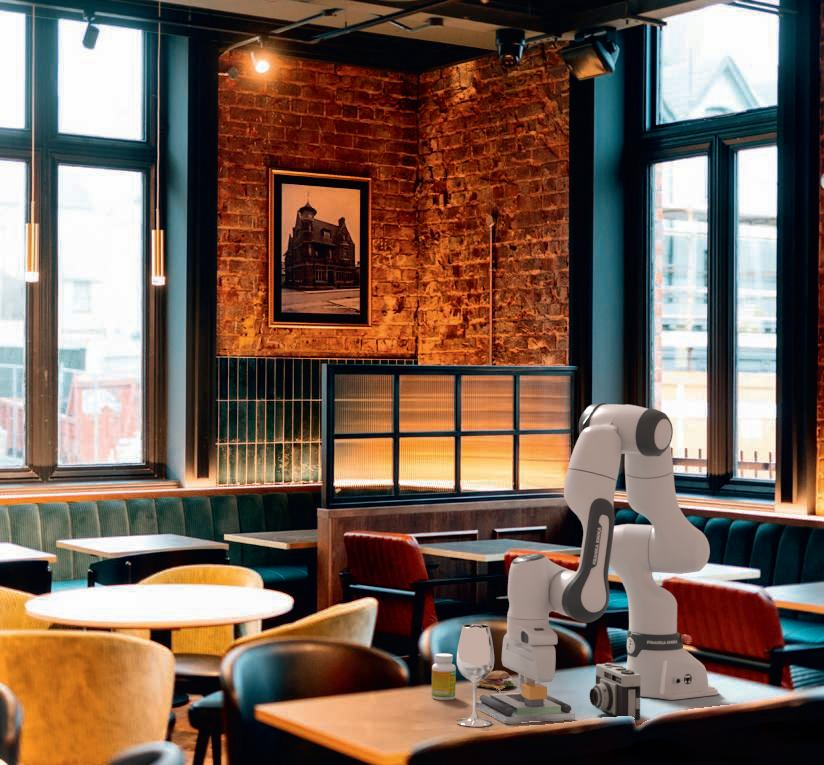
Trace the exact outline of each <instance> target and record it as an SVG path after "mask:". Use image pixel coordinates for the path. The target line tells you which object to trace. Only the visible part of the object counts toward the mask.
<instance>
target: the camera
mask: <svg viewBox="0 0 824 765" xmlns="http://www.w3.org/2000/svg"><path fill="white" fill-rule="evenodd" d="M640 687H641V675H640V674H637V673H635V672H633V671H631V670H626V667H624V666H622V665H619V664H614V663H611V662H605V663H597V664H596V665H595V685H594V686H593V687H592V688H591V689H590V691H589V700H590V704H591V705H592V706H593V707H595V709H597V710H599V711H602V712H604V713H606V714H608V715H609V716H613V717H614V716H632V717H634V718H635V719H636V720H635V721H639V720H640V719H641V696H640Z"/></svg>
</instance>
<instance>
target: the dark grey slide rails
mask: <svg viewBox="0 0 824 765" xmlns="http://www.w3.org/2000/svg"><path fill="white" fill-rule="evenodd" d="M547 700H549V701H552V702H554V703H556V704H558V705H560V706H561V710H563V711H565V712H570V711H572V706H571V705H570V704H568V703H566V702H563V701H561V700H560V699H557V698H555V697H554V696H550V695H549V694H547ZM479 701H481V702H483V703H485V704H487V705H489V706H491V707H493V708H495V709H496V710H498V711H500V712H502V713H504V714H506V715H508V716H511V715H512V714H513V710H512V709H511V708H509V707H507V706H505V705H503V704H502V703H500V702H498V701H496V700H494V699H492V698H490V696H488V695H486V694H481V695H480V696H479Z"/></svg>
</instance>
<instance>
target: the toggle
mask: <svg viewBox="0 0 824 765" xmlns="http://www.w3.org/2000/svg"><path fill="white" fill-rule="evenodd" d="M547 695H548V686H546V685H544V684H542V683H541V682H538V683H537V682H535V683H534V684H522V696H523V697H525V705H526V706H528V707H530V706H544V699H547Z"/></svg>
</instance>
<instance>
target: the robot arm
mask: <svg viewBox="0 0 824 765" xmlns="http://www.w3.org/2000/svg"><path fill="white" fill-rule="evenodd" d="M673 431H674V428H673V424H672V422H671V420H670V417H669V416H668V415H667V413H665V412H663V411H661V410H659V409H656V408H646V407H643V406H638V405H635V404H634V405H633V404H615V403H614V404H613V403H612V404H610V403H609V404H608V403H605V402H600V403H594V404H593V403H592V404H590V405H589V406H587V407H586V409H585V410H584V411H583V412H582V414H581V416H580V418H579V422H578V433H579V437H578V439H577V440H576V442H575V445H574V448H573V450H572V453H571V455H570V459H569V462H568V467H567V470H566V474H565V478H564V485H563V498H564V500H565V502H566V504H567V506H568V508H570V510H571V511H572V512H573V513H574V514H575V515H576V516H577V518H578V520H579V521H580V522H581V525H582V530H583V536H582V543H581V550H580V555H579V556H580V557H579V565H578V567H577V570H576V571H575V570H571V569H568V568H566V567H563V566H561V565H559V564H557V563H555V562H553V561H552V560H550V559H549V558H548V557H547V556H546V555H544V554H542V553H529V554H523V555H520V556H517V557H516V558H515V559H513V560H512V562H511V563H510V568H509V571H508V580H507V582H508V583H507V598H508V602H509V605H508V606H509V607H508V611H507V615H506V616H507V617H506V618H507V619H506V622H507V624H506V633H505V634H504V636H503V639H502V649H501V663H502V666H503V667H505V668H507V669H509V670H511V671H513V672H516V673H517V674H518V676H517V678H518V683H519V685H520V691H521V694H522V684H534V683H537V682H538V683H550V682H551V683H552V681H553V680H554V679H555V673H556V663H557V661H556V648H555V646H554V645H557V644H558V634H557V633H556V632H555V630H553V628H552V627H551V624H550V623H549V620H550V619H549V617H550V616H549V614H550V613H551V612H554V613H558V614H559V615H562V616H566V617H570V618H572V619H573V620H576V621H577V622H579V623H585V624H588V623H592V622H595V621H596V620H599V619H600V618H601V617H602V616H603V615H604V614H605V613H606V611H607V609H608V607H609V605H610V604H609V603H610V596H611V594H610V593H611V592H610V584H609V568H610V569H611V570H612V571H613V572H614V573H615V574H616V575H617V576H618V578H619V579H620V581H621V583H622V585H623V587H624V591H625V592H626V596H627V601H628V602H627V604H628V630H627V631H626V653H627V658H626V659H627V660H626V667H625V668H626V670H631V671H633V672H635V673H637V674H640V675H641V687H640V697H643V698H655V699H662V700H668V701H671V700H682V699H684V700H685V699H689V698H690V699H692V698H693V699H694V698H699V697H709V696H717V695H719V694H718V693H719V692H718V691H719V690H718V689H717V687H715V686H713V685H710V684H709V677H708V672H707V669H706V667H705V665H704V664H703V663H702V662H701V661H700V660H698V659H697V658H696V657H694V656H693V655H692V654H691V653H689V652H688V651H687V649H685V647H684V644H686V645H689V644H692V642H693V641H692V640H693V637H691V635H689V634H682V633H680V632H678V620H677V619H678V603H677V599H676V597H675V596H674V595H673V594H672V592H670V591H669V590H667V589H666V588H664V587H662V586H660V585H659V584H658V583H657V582H656V581H655V579H654V575H653V573H662V574H663V573H664V574H675V575H677V574H679V575H682V574H690V573H696V572H700V571H702V570H703V569H704V568H705V567H706V565H707V563H708V561H709V559H710V554H711V552H710V551H711V550H710V544H709V541H708V538H707V537H706V535H705V534H704V532H702V531H701V530H699V529H698V528H697V527H696V526H694V525H693V524H692V523H691V522H690V521H689V520H688V518H687V517H686V515H685V514H684V513H683V511H682V510H681V507H680V505H679V502H678V498H677V493H676V487H675V475H674V464H673V456H672V449H671V442H672V439H673V433H674V432H673ZM622 455H624V475H625V492H626V500H627V503H628V505H629V507H630V508H631V509H632V510H633V511H634V512H636V513H638V515H641V516H643V517H645V518H646V519H647V520H648V521H649V522H650V524H638V523H637V524H635V523H634V524H633V523H625V524H619V525H615V522H616V521H615V520H616V516H615V514H616V513H615V508H614V503H615V502H614V501H615V492H616V487H617V481H618V477H619V472H620V467H621V466H620V465H621V460H622V458H621V457H622ZM683 643H684V644H683Z"/></svg>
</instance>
